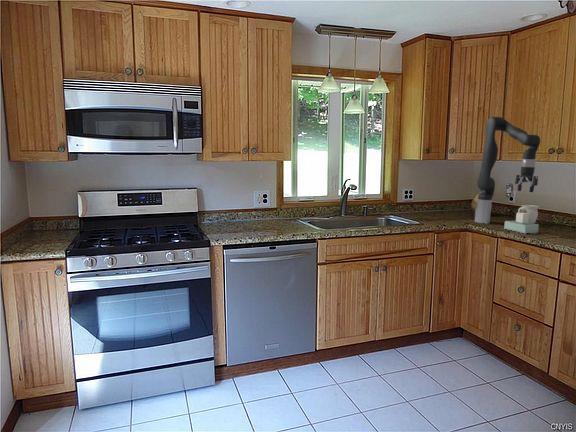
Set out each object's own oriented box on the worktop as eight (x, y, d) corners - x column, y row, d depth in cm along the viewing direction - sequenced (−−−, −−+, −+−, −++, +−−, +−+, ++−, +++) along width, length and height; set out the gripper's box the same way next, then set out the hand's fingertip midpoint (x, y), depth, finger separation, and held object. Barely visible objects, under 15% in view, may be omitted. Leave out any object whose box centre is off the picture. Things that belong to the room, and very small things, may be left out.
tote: (504, 229, 272) (504, 221, 271) (517, 228, 276) (517, 220, 275) (524, 233, 258) (525, 225, 257) (537, 232, 262) (538, 224, 261)
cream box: (515, 221, 268) (516, 212, 267) (521, 221, 269) (522, 212, 268) (522, 223, 263) (523, 214, 262) (527, 222, 265) (529, 213, 264)
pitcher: (523, 221, 308) (525, 203, 306) (543, 225, 291) (545, 206, 289) (511, 221, 306) (513, 203, 303) (530, 225, 288) (533, 206, 286)
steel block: (520, 228, 270) (521, 221, 269) (526, 230, 266) (527, 222, 265) (514, 229, 269) (515, 221, 268) (520, 230, 264) (521, 223, 263)
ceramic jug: (481, 217, 324) (484, 179, 319) (466, 214, 338) (469, 178, 334) (496, 216, 331) (500, 179, 326) (481, 213, 345) (484, 178, 340)
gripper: (542, 166, 255) (539, 192, 258) (522, 165, 268) (519, 190, 271) (533, 166, 253) (530, 192, 255) (514, 165, 266) (511, 190, 268)
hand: (525, 191), depth 263 cm, fingers open, 8 cm apart
